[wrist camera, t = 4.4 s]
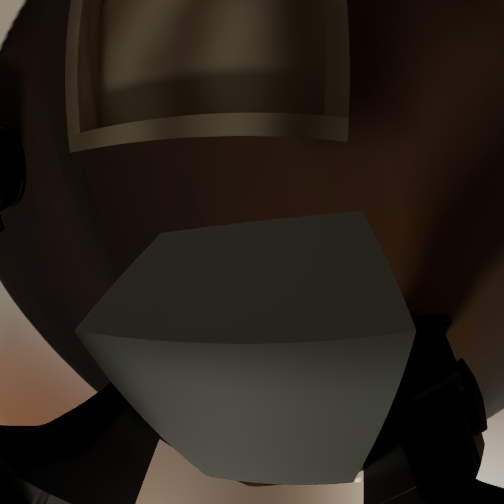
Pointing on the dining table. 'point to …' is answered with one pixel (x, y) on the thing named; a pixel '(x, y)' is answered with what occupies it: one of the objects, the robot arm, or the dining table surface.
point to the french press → (11, 170)
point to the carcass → (206, 70)
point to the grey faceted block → (259, 345)
